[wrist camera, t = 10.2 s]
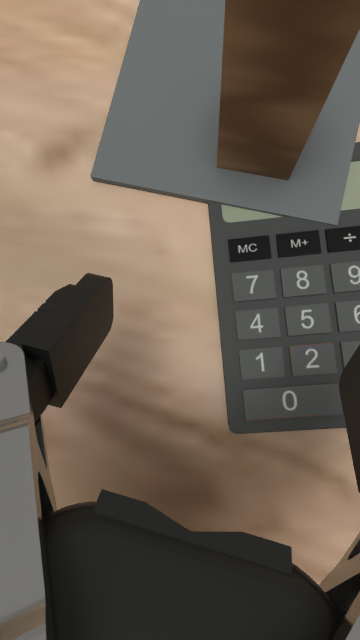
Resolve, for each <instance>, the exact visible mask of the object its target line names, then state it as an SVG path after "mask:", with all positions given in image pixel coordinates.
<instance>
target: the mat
mask: <svg viewBox="0 0 360 640" xmlns="http://www.w3.org/2000/svg"><path fill="white" fill-rule="evenodd" d="M224 16H225V0H140V3H139V7H138V10H137V14H136V17H135V21H134V24H133V28H132V31H131V35H130V38H129V42H128V45H127V49H126V53H125V56H124V60H123V63H122V67H121V70H120V74H119V77H118V81H117V84H116V88H115V92H114V95H113V99H112V102H111V106H110V109H109V113H108V116H107V120H106V123H105V127H104V131H103V134H102V138H101V141H100V145H99V148H98V152H97V155H96V159H95V162H94V166H93V169H92V173H91V178H92V180H94V181H99V182H104V183H109V184H114V185H119V186H124V187H129V188H134V189H140V190H145V191H150V192H155V193H160V194H165V195H170V196H175V197H180V198H185V199H190V200H195V201H200V202H205V203H208V201H213V202H218V203H221V204H222V205H228V206H233V207H238V208H243V209H248V210H253V211H258V212H263V213H268V214H273V215H278V216H283V217H286V216H289V217H294V218H299V219H304V220H309V221H314V222H319V223H324V224H329V225H334V226H337V225H338V220H339V216H340V211H341V206H342V201H343V197H344V192H345V187H346V183H347V178H348V173H349V169H350V164H351V159H352V155H353V150H354V145H355V141H356V136H357V131H358V126H359V122H360V30H359V32H358V34H357V36H356V38H355V40H354V42H353V44H352V47H351V49H350V51H349V53H348V55H347V57H346V59H345V61H344V63H343V66H342V68H341V70H340V72H339V74H338V76H337V78H336V80H335V83H334V85H333V87H332V89H331V91H330V93H329V95H328V97H327V100H326V102H325V104H324V106H323V108H322V110H321V112H320V114H319V117H318V119H317V121H316V123H315V125H314V127H313V129H312V131H311V134H310V136H309V138H308V140H307V142H306V144H305V146H304V148H303V151H302V153H301V155H300V157H299V159H298V161H297V163H296V165H295V167H294V170H293V172H292V174H291V176H290V178H289V180H288V181H287V180H282V179H276V178H271V177H265V176H260V175H255V174H249V173H244V172H238V171H233V170H227V169H222V168H217V150H218V131H219V112H220V93H221V74H222V55H223V35H224Z"/></svg>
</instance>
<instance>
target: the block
mask: <svg viewBox="0 0 360 640" xmlns="http://www.w3.org/2000/svg"><path fill="white" fill-rule="evenodd" d="M359 30H360V0H225V16H224V35H223V55H222V74H221V93H220V112H219V131H218V150H217V168H222V169H227V170H233V171H238V172H244V173H249V174H255V175H260V176H265V177H271V178H276V179H282V180H287V181H288V180H289V178H290V176H291V174H292V172H293V170H294V167H295V165H296V163H297V161H298V159H299V157H300V155H301V153H302V151H303V148H304V146H305V144H306V142H307V140H308V138H309V136H310V134H311V131H312V129H313V127H314V125H315V123H316V121H317V119H318V117H319V114H320V112H321V110H322V108H323V106H324V104H325V102H326V100H327V97H328V95H329V93H330V91H331V89H332V87H333V85H334V83H335V80H336V78H337V76H338V74H339V72H340V70H341V68H342V66H343V63H344V61H345V59H346V57H347V55H348V53H349V51H350V49H351V47H352V44H353V42H354V40H355V38H356V36H357V34H358V32H359Z"/></svg>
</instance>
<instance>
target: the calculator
mask: <svg viewBox="0 0 360 640" xmlns="http://www.w3.org/2000/svg"><path fill="white" fill-rule="evenodd" d="M208 206H209V217H210V228H211V239H212V250H213V260H214V271H215V282H216V293H217V304H218V315H219V326H220V336H221V347H222V358H223V369H224V380H225V391H226V402H227V412H228V423H229V427H230V430H231V431H232V432H233V433H237V434H245V433H261V432H278V431H295V430H312V429H328V428H345V427H346V423H345V418H344V413H343V407H342V402H341V397H340V392H339V381H340V376H341V374H342V371H343V370H344V368H345V366H346V365H347V363H348V362H349V360H350V359H351V357H352V356H353V354H354V352H355V351H356V349H357V348H358V346H359V345H360V142H358V143H355V145H354V150H353V155H352V159H351V164H350V169H349V173H348V178H347V183H346V187H345V192H344V197H343V201H342V206H341V211H340V216H339V220H338V225H337V226H334V225H329V224H324V223H319V222H314V221H309V220H304V219H299V218H294V217H289V216H286V217H283V216H278V215H273V214H268V213H263V212H258V211H253V210H248V209H243V208H238V207H233V206H228V205H222V204H221V203H218V202H213V201H208Z"/></svg>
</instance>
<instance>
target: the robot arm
mask: <svg viewBox="0 0 360 640" xmlns="http://www.w3.org/2000/svg"><path fill="white" fill-rule="evenodd" d="M112 322H113V284H112V280H111V278H109V277H104V276H100V275H95V274H91V273H87V274H86V275H84V277H83V278H82V279H81V280H80V281H79V282H78V283H77V284H76V285H71V284H69V285H67V286H65V287H63V288H61V289H59V290H57V291H55V292H54V293H53V294H52V295H51V296H50V297H49V298H48V299H47V300H46V302H45V303H43V304H42V305H41V306H40V307H39V308H38V311H37V312H36V311H35V312H34V313H33V315H32V316H31V317H30V318H29V319H28V320H27V321H26V322H25V323H24V324H23V325H22V326H21V327H20V328H19V329H18V330H17V331H16V332H15V333H14V334H13V335H12V336H11V337H10V338H9V339H8V340H7V341H6V342H0V640H360V532H359V534H358V535H357V537H356V538H355V540H354V541H353V543H352V544H351V546H350V547H349V549H348V550H347V551H346V553H345V554H344V556H343V557H342V559H341V560H340V562H339V563H338V564H337V566H336V567H335V568H334V569H333V570H332V571H331V572H330V573H329V574H328V575H327V576H326V577H325V578H324V580H323V581H322V582H321V583H320V584H319V585H318V584H317V583H316V582H315V581H314V580H313V579H312V578H311V577H310V576H309V575H307V574H306V573H305V572H304V571H302V570H301V569H300V568H299V567H297V566H296V565H294V564H293V563H292V554H291V547H290V546H287V545H284V544H280V543H277V542H274V541H270V540H267V539H264V538H261V537H257V536H254V535H251V534H247V533H244V532H194V531H190V530H188V529H186V528H184V527H183V526H181V525H180V524H178V523H176V522H175V521H173V520H172V519H170V518H169V517H167V516H166V515H164V514H163V513H161V512H160V511H158V510H156V509H155V508H153V507H152V506H150V505H149V504H147V503H145V502H142V501H139V500H136V499H132V498H129V497H126V496H122V495H119V494H116V493H112V492H109V491H106V490H103V489H102V490H101V492H100V495H99V497H98V500H97V502H85V503H78V504H74V505H70V506H67V507H64V508H62V509H59V510H57V508H56V502H55V496H54V491H53V487H52V482H51V477H50V471H49V463H48V456H47V449H46V442H45V435H44V427H43V420H42V415H41V414H42V413H43V411H44V410H45V408H46V407H47V405H52V406H55V407H59V408H62V406H63V404H64V403H65V401H66V400H67V398H68V396H69V395H70V393H71V392H72V390H73V388H74V387H75V385H76V384H77V382H78V381H79V379H80V377H81V376H82V374H83V373H84V371H85V369H86V368H87V366H88V365H89V363H90V361H91V360H92V358H93V357H94V355H95V354H96V352H97V350H98V349H99V347H100V346H101V344H102V342H103V341H104V339H105V338H106V336H107V334H108V333H109V331H110V329H111V326H112ZM339 392H340V397H341V402H342V407H343V413H344V418H345V423H346V428H347V433H348V439H349V444H350V449H351V454H352V459H353V465H354V470H355V475H356V480H357V486H358V491H359V493H360V345H359V346H358V348H357V349H356V351H355V352H354V354H353V356H352V357H351V359H350V360H349V362H348V363H347V365H346V366H345V368H344V370H343V371H342V374H341V376H340V381H339Z"/></svg>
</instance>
